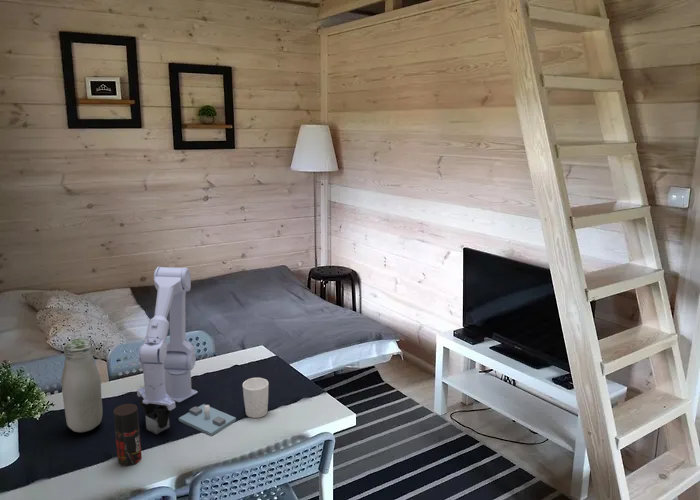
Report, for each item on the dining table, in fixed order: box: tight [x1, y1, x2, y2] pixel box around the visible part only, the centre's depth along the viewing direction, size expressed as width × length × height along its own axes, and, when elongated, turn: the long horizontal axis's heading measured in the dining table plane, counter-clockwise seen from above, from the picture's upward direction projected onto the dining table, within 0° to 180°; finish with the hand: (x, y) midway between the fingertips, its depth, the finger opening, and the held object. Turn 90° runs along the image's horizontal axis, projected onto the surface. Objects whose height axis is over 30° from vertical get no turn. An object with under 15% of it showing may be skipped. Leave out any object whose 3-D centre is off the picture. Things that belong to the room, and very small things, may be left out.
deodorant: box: [112, 403, 143, 467], centre depth 147 cm, size 6×6×15 cm
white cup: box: [242, 377, 269, 419], centre depth 171 cm, size 8×8×10 cm
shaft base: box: [178, 403, 237, 437], centre depth 167 cm, size 14×10×5 cm
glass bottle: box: [61, 337, 104, 433], centre depth 159 cm, size 10×10×28 cm
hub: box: [145, 411, 170, 435], centre depth 163 cm, size 5×5×4 cm
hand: (157, 423), depth 163 cm, fingers closed on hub, 5 cm apart
